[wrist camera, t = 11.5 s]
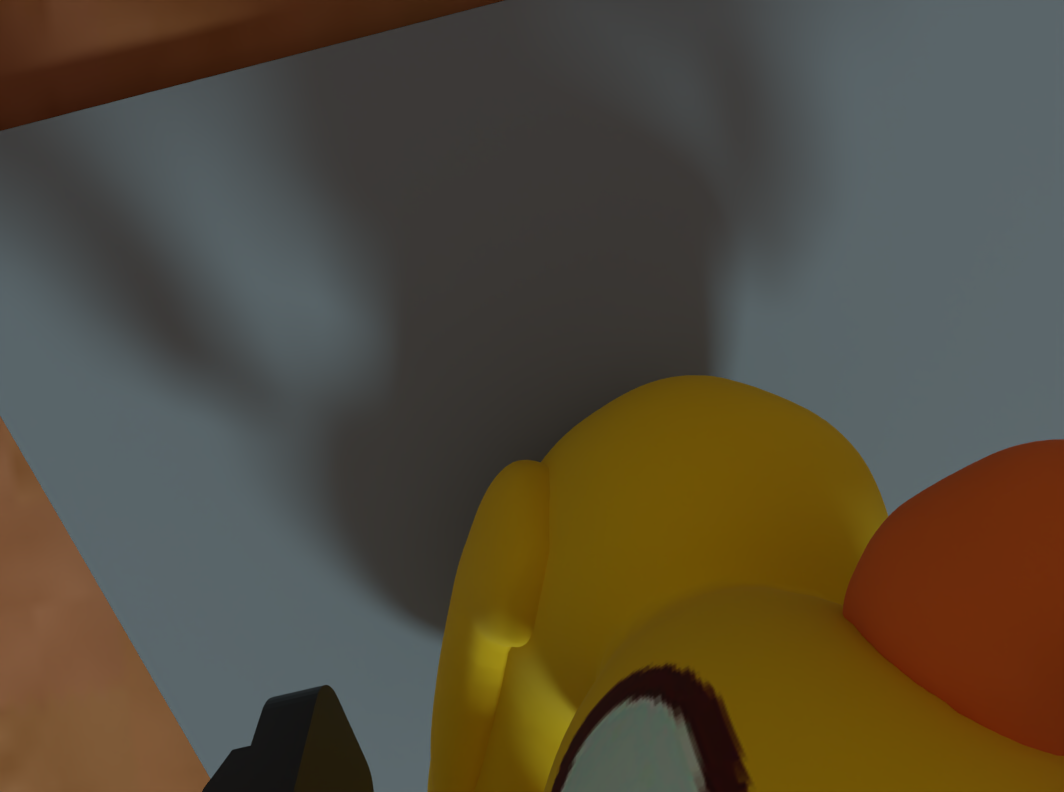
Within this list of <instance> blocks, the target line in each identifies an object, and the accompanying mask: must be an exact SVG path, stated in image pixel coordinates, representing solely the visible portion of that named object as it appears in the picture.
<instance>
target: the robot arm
mask: <svg viewBox="0 0 1064 792" xmlns="http://www.w3.org/2000/svg"><path fill="white" fill-rule="evenodd" d="M202 792H374V788H373V781H372V776H371V772H370V769H369V766H368V763H367V761H366V759H365V756H364V754H363V752H362V750H361V748H360V745H359V743H358V741H357V739H356V737H355V734H354V732H353V730H352V728H351V726H350V723H349V721H348V719H347V717H346V715H345V712H344V710H343V708H342V706H341V704H340V701H339V699H338V697H337V695H336V693H335V691H334V690H333V689H332V688H331V687H330V686H329V685H323V686H318V687H314V688H309V689H305V690H301V691H296V692H292V693H288V694H283V695H279V696H275V697H271V698H269V699H268V700H267V701H266V703H265V704H264V707H263V709H262V712H261V715H260V718H259V721H258V724H257V727H256V730H255V733H254V736H253V740H252V743H251V746H246V747H242V748H238V749H233V750H232V751H231V752H230V754H229V755H228V756H227V758H226V759H225V760H224V762H223V763H222V764H221V766H220V767H219V768H218V770H217V771H216V773H215V774H214V775H213V777H212V778H211V779H210V781H209V782H208V783H207V785H206V786H205V787H204V789H203V791H202Z"/></svg>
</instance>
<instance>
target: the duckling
mask: <svg viewBox="0 0 1064 792" xmlns="http://www.w3.org/2000/svg"><path fill="white" fill-rule="evenodd" d="M430 754H431V760H430V767H429V776H428V789H427V792H1064V439H1053V440H1043V441H1035V442H1030V443H1025V444H1020V445H1016V446H1013V447H1009V448H1006V449H1004V450H1001V451H998V452H996V453H993V454H991V455H989V456H987V457H985V458H983V459H981V460H978V461H976V462H974V463H972V464H970V465H968V466H966V467H964V468H962V469H961V470H959V471H957V472H955V473H953V474H951V475H949V476H947V477H945V478H944V479H942V480H940V481H938V482H937V483H935V484H933V485H932V486H930V487H928V488H926V489H925V490H923V491H921V492H920V493H918V494H917V495H915V496H913V497H912V498H910V499H909V500H907V501H906V502H904V503H903V504H902V505H900V506H899V507H898V508H897V509H896V510H895V511H893V512H892V513H891V514H890V515H889V516H888V514H887V510H886V507H885V504H884V501H883V499H882V496H881V493H880V491H879V489H878V486H877V484H876V482H875V480H874V478H873V475H872V474H871V472H870V470H869V468H868V466H867V465H866V463H865V461H864V460H863V458H862V457H861V455H860V454H859V453H858V451H857V450H856V449H855V448H854V446H853V445H852V444H851V443H850V442H849V441H848V440H847V439H846V438H845V437H844V436H843V435H842V434H841V433H840V432H839V431H838V430H837V429H836V428H834V427H833V426H832V425H831V424H829V423H828V422H827V421H826V420H824V419H822V418H821V417H819V416H818V415H816V414H815V413H813V412H811V411H810V410H808V409H806V408H804V407H802V406H800V405H798V404H796V403H794V402H792V401H789V400H787V399H785V398H782V397H780V396H778V395H775V394H772V393H770V392H767V391H765V390H762V389H759V388H757V387H754V386H750V385H747V384H744V383H740V382H737V381H733V380H729V379H725V378H721V377H715V376H706V375H684V376H675V377H669V378H665V379H660V380H657V381H653V382H650V383H647V384H645V385H642V386H640V387H637V388H635V389H633V390H631V391H629V392H627V393H625V394H623V395H621V396H620V397H618V398H616V399H614V400H613V401H611V402H609V403H608V404H606V405H605V406H603V407H602V408H600V409H599V410H597V411H595V412H594V413H592V414H591V415H589V416H588V417H587V418H585V419H584V420H582V421H581V422H580V423H578V424H577V425H576V426H575V427H573V428H572V429H571V430H570V431H569V432H568V433H566V434H565V435H564V436H563V437H562V438H561V439H560V440H559V441H558V442H557V443H556V444H555V446H554V447H553V448H552V449H551V450H550V451H549V452H548V454H547V455H546V456H545V457H544V459H543V460H542V461H541V462H537V461H533V460H518V461H515V462H513V463H511V464H509V465H508V466H506V467H505V468H504V469H503V470H502V471H501V472H500V473H499V474H498V475H497V476H496V477H495V478H494V480H493V481H492V483H491V484H490V486H489V487H488V489H487V491H486V493H485V495H484V497H483V499H482V501H481V503H480V505H479V508H478V510H477V513H476V515H475V518H474V521H473V523H472V526H471V529H470V532H469V535H468V538H467V541H466V544H465V546H464V549H463V552H462V555H461V558H460V561H459V565H458V569H457V573H456V576H455V581H454V586H453V591H452V595H451V600H450V605H449V610H448V615H447V620H446V625H445V630H444V636H443V641H442V647H441V653H440V659H439V665H438V672H437V679H436V687H435V695H434V703H433V713H432V725H431V748H430Z"/></svg>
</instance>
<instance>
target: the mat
mask: <svg viewBox="0 0 1064 792" xmlns="http://www.w3.org/2000/svg"><path fill="white" fill-rule="evenodd" d="M684 375H706V376H715V377H721V378H725V379H729V380H733V381H737V382H740V383H744V384H747V385H750V386H754V387H757V388H759V389H762V390H765V391H767V392H770V393H772V394H775V395H778V396H780V397H782V398H785V399H787V400H789V401H792V402H794V403H796V404H798V405H800V406H802V407H804V408H806V409H808V410H810V411H811V412H813V413H815V414H816V415H818V416H819V417H821V418H822V419H824V420H826V421H827V422H828V423H829V424H831V425H832V426H833V427H834V428H836V429H837V430H838V431H839V432H840V433H841V434H842V435H843V436H844V437H845V438H846V439H847V440H848V441H849V442H850V443H851V444H852V445H853V446H854V448H855V449H856V450H857V451H858V453H859V454H860V455H861V457H862V458H863V460H864V461H865V463H866V465H867V466H868V468H869V470H870V472H871V474H872V475H873V478H874V480H875V482H876V484H877V486H878V489H879V491H880V493H881V496H882V499H883V501H884V504H885V507H886V510H887V514H888V516H889V515H890V514H891V513H892V512H893V511H895V510H896V509H897V508H898V507H899V506H900V505H902V504H903V503H904V502H906V501H907V500H909V499H910V498H912V497H913V496H915V495H917V494H918V493H920V492H921V491H923V490H925V489H926V488H928V487H930V486H932V485H933V484H935V483H937V482H938V481H940V480H942V479H944V478H945V477H947V476H949V475H951V474H953V473H955V472H957V471H959V470H961V469H962V468H964V467H966V466H968V465H970V464H972V463H974V462H976V461H978V460H981V459H983V458H985V457H987V456H989V455H991V454H993V453H996V452H998V451H1001V450H1004V449H1006V448H1009V447H1013V446H1016V445H1020V444H1025V443H1030V442H1035V441H1043V440H1053V439H1064V0H505V1H501V2H497V3H493V4H489V5H485V6H482V7H478V8H474V9H470V10H466V11H462V12H458V13H455V14H451V15H447V16H443V17H439V18H435V19H431V20H428V21H424V22H420V23H416V24H412V25H408V26H404V27H400V28H397V29H393V30H389V31H385V32H381V33H377V34H373V35H370V36H366V37H362V38H358V39H354V40H350V41H346V42H343V43H339V44H335V45H331V46H327V47H323V48H319V49H315V50H312V51H308V52H304V53H300V54H296V55H292V56H288V57H285V58H281V59H277V60H273V61H269V62H265V63H261V64H258V65H254V66H250V67H246V68H242V69H238V70H234V71H231V72H227V73H223V74H219V75H215V76H211V77H207V78H203V79H200V80H196V81H192V82H188V83H184V84H180V85H176V86H173V87H169V88H165V89H161V90H157V91H153V92H149V93H146V94H142V95H138V96H134V97H130V98H126V99H122V100H118V101H115V102H111V103H107V104H103V105H99V106H95V107H91V108H88V109H84V110H80V111H76V112H72V113H68V114H64V115H61V116H57V117H53V118H49V119H45V120H41V121H37V122H34V123H30V124H26V125H22V126H18V127H14V128H10V129H6V130H3V131H0V416H1V418H2V419H3V421H4V423H5V424H6V426H7V428H8V430H9V431H10V433H11V435H12V437H13V438H14V440H15V442H16V443H17V445H18V447H19V449H20V450H21V452H22V454H23V456H24V457H25V459H26V461H27V462H28V464H29V466H30V468H31V469H32V471H33V473H34V474H35V476H36V478H37V480H38V481H39V483H40V485H41V487H42V488H43V490H44V492H45V493H46V495H47V497H48V499H49V500H50V502H51V504H52V506H53V507H54V509H55V511H56V512H57V514H58V516H59V518H60V519H61V521H62V523H63V525H64V526H65V528H66V530H67V531H68V533H69V535H70V537H71V538H72V540H73V542H74V544H75V545H76V547H77V549H78V550H79V552H80V554H81V556H82V557H83V559H84V561H85V563H86V564H87V566H88V568H89V569H90V571H91V573H92V575H93V576H94V578H95V580H96V582H97V583H98V585H99V587H100V588H101V590H102V592H103V594H104V595H105V597H106V599H107V601H108V602H109V604H110V606H111V607H112V609H113V611H114V613H115V614H116V616H117V618H118V620H119V621H120V623H121V625H122V626H123V628H124V630H125V632H126V633H127V635H128V637H129V639H130V640H131V642H132V644H133V645H134V647H135V649H136V651H137V652H138V654H139V656H140V658H141V659H142V661H143V663H144V664H145V666H146V668H147V670H148V671H149V673H150V675H151V677H152V678H153V680H154V682H155V683H156V685H157V687H158V689H159V690H160V692H161V694H162V696H163V697H164V699H165V701H166V702H167V704H168V706H169V708H170V709H171V711H172V713H173V715H174V716H175V718H176V720H177V721H178V723H179V725H180V727H181V728H182V730H183V732H184V734H185V735H186V737H187V739H188V740H189V742H190V744H191V746H192V747H193V749H194V751H195V753H196V754H197V756H198V758H199V759H200V761H201V763H202V765H203V766H204V768H205V770H206V772H207V773H208V775H209V777H210V778H212V777H213V775H214V774H215V773H216V771H217V770H218V768H219V767H220V766H221V764H222V763H223V762H224V760H225V759H226V758H227V756H228V755H229V754H230V752H231V751H232V750H233V749H238V748H242V747H246V746H251V743H252V740H253V736H254V733H255V730H256V727H257V724H258V721H259V718H260V715H261V712H262V709H263V707H264V704H265V703H266V701H267V700H268V699H269V698H271V697H275V696H279V695H283V694H288V693H292V692H296V691H301V690H305V689H309V688H314V687H318V686H323V685H329V686H330V687H331V688H332V689H333V690H334V691H335V693H336V695H337V697H338V699H339V701H340V704H341V706H342V708H343V710H344V712H345V715H346V717H347V719H348V721H349V723H350V726H351V728H352V730H353V732H354V734H355V737H356V739H357V741H358V743H359V745H360V748H361V750H362V752H363V754H364V756H365V759H366V761H367V763H368V766H369V769H370V772H371V776H372V781H373V788H374V792H427V789H428V776H429V767H430V760H431V754H430V748H431V725H432V713H433V703H434V695H435V687H436V679H437V672H438V665H439V659H440V653H441V647H442V641H443V636H444V630H445V625H446V620H447V615H448V610H449V605H450V600H451V595H452V591H453V586H454V581H455V576H456V573H457V569H458V565H459V561H460V558H461V555H462V552H463V549H464V546H465V544H466V541H467V538H468V535H469V532H470V529H471V526H472V523H473V521H474V518H475V515H476V513H477V510H478V508H479V505H480V503H481V501H482V499H483V497H484V495H485V493H486V491H487V489H488V487H489V486H490V484H491V483H492V481H493V480H494V478H495V477H496V476H497V475H498V474H499V473H500V472H501V471H502V470H503V469H504V468H505V467H506V466H508V465H509V464H511V463H513V462H515V461H518V460H533V461H537V462H541V461H542V460H543V459H544V457H545V456H546V455H547V454H548V452H549V451H550V450H551V449H552V448H553V447H554V446H555V444H556V443H557V442H558V441H559V440H560V439H561V438H562V437H563V436H564V435H565V434H566V433H568V432H569V431H570V430H571V429H572V428H573V427H575V426H576V425H577V424H578V423H580V422H581V421H582V420H584V419H585V418H587V417H588V416H589V415H591V414H592V413H594V412H595V411H597V410H599V409H600V408H602V407H603V406H605V405H606V404H608V403H609V402H611V401H613V400H614V399H616V398H618V397H620V396H621V395H623V394H625V393H627V392H629V391H631V390H633V389H635V388H637V387H640V386H642V385H645V384H647V383H650V382H653V381H657V380H660V379H665V378H669V377H675V376H684Z"/></svg>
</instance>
